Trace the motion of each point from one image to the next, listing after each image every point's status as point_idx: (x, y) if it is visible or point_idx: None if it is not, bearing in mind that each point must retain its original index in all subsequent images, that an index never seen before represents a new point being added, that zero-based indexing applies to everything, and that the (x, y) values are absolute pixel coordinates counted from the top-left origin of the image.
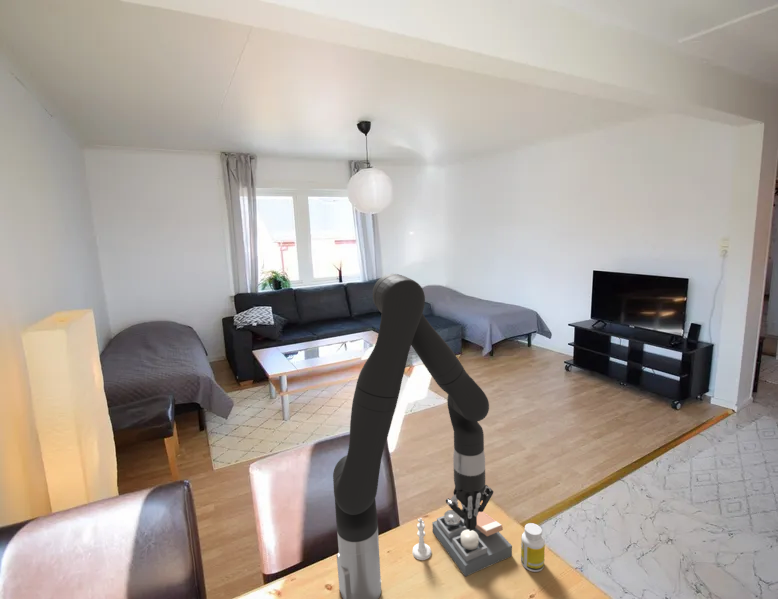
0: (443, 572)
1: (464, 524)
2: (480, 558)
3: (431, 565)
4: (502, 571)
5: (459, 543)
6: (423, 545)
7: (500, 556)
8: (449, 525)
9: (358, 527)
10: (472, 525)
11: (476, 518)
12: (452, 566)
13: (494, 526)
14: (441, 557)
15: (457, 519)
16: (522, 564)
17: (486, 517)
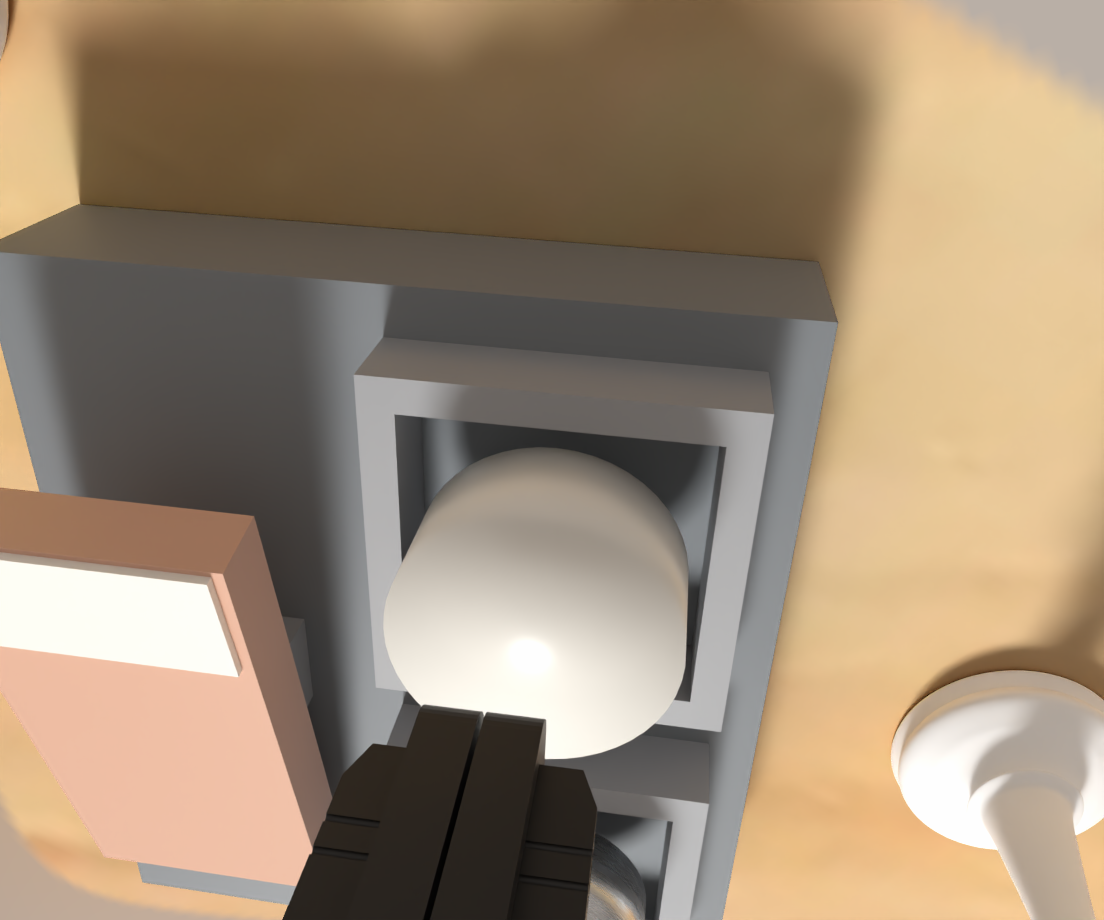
0: (1008, 446)
1: (589, 884)
2: (538, 309)
3: (1050, 586)
4: (322, 72)
5: None
6: (1037, 821)
7: (226, 236)
8: (626, 886)
9: None
10: (471, 803)
11: (296, 905)
12: (846, 456)
13: (38, 580)
14: (865, 606)
15: None
16: (6, 7)
17: (82, 743)
